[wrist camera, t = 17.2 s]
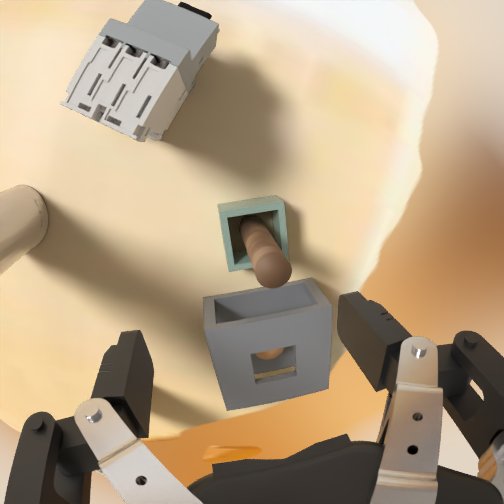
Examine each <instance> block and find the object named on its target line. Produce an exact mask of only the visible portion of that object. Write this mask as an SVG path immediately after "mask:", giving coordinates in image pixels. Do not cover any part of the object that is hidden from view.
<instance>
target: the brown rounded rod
mask: <svg viewBox="0 0 504 504" xmlns="http://www.w3.org/2000/svg"><path fill="white" fill-rule="evenodd" d="M239 231H240V233H241V236H242V239H243V242H244V244H245V247H246V250H247V253H248V255H249V258H250V261H251V264H252V266H253V269H254V272H255V274H256V277H257V280H258V282H259V283H260V284H261V285H262V286H264V287H266V288H270V289H274V288H279V287H281V286H283V285H284V284H285V283H287V281H288V280H289V279H290V276H291V273H292V268H291V265H290V263H289V261H288V260H287V258H286V257H285V255H284V254H283V252H282V251H281V249H280V248H279V246H278V245H277V243H276V241H275V240H274V238H273V237H272V235H271V234H270V232H269V231H268V229H267V228H266V226H265V225H264V223H263V222H262V220H261V219H260V218H259V217H258V216H255V215H248V216H245V217H244V218H243V219H242V220H241V221H240V224H239Z"/></svg>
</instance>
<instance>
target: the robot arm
mask: <svg viewBox="0 0 504 504" xmlns="http://www.w3.org/2000/svg"><path fill="white" fill-rule="evenodd" d="M47 227H48V213H47V208H46V205H45V203H44V201H43V199H42V197H41V196H40V195H39V193H38V192H37V191H36V190H34V189H33V188H31V187H29V186H25V185H19V186H16V187H13V188H10V189H8V190H5V191H2V192H0V275H1V274H2V273H3V272H5V271H6V270H7V269H8V268H9V267H10V266H12V265H13V264H14V263H15V262H16V261H17V260H19V259H20V258H21V257H22V256H23V255H25V254H26V253H27V252H29V251H30V250H31V249H32V248H33V247H35V246H36V245H37V244H38V243H39V242H41V241H42V239H43V238H44V236H45V234H46V231H47ZM337 330H338V335H339V337H340V339H341V341H342V343H343V344H344V345H345V347H346V348H347V350H348V351H349V353H350V354H351V356H352V357H353V359H354V360H355V362H356V363H357V364H358V366H359V367H360V369H361V370H362V372H363V373H364V374H365V376H366V378H367V379H368V381H369V382H370V383H371V385H372V387H373V388H374V390H375V391H376V392H377V391H380V390H383V389H385V388H386V389H387V390H388V391H389V393H388V396H387V401H386V405H385V410H384V414H383V419H382V423H381V427H380V432H379V435H378V438H377V441H376V442H370V441H350V439H349V437H348V435H347V434H344V435H341V436H338V437H335V438H331V439H328V440H325V441H322V442H318V443H315V444H314V445H311V446H310V447H308V448H306V449H304V450H302V451H300V452H298V453H296V454H294V455H292V456H290V457H288V458H285V459H274V460H263V459H262V460H261V459H259V460H258V459H244V460H238V461H232V462H225V463H217V464H212V467H213V473H211V474H208V475H206V476H204V477H202V478H200V479H198V480H197V481H195V482H193V483H192V484H191V485H189V486H188V487H187V488H186V487H184V486H183V485H182V484H181V483H180V482H179V481H178V480H177V479H176V478H175V477H174V476H173V475H172V474H171V473H170V472H169V471H168V470H167V469H166V468H165V467H164V466H163V465H162V464H161V463H160V461H159V460H158V459H157V458H156V457H155V456H154V455H153V454H152V453H151V452H150V451H149V450H148V448H147V447H146V446H145V445H144V444H143V443H142V442H141V440H140V439H139V438H148V437H149V422H150V409H151V398H152V387H153V377H154V368H153V362H152V359H151V356H150V354H149V351H148V348H147V346H146V343H145V340H144V338H143V335H142V333H141V331H140V330H134V331H125V332H121V334H120V337H119V341H118V344H117V345H112V346H111V347H110V348H109V349H108V350H107V351H106V353H105V354H104V356H103V360H102V363H101V364H102V365H101V366H100V369H99V373H98V375H97V379H96V382H95V385H94V389H93V392H92V396H91V399H89V400H87V401H85V402H83V403H82V404H81V405H80V406H79V407H78V408H77V409H76V412H75V416H72V417H68V418H65V419H61V420H57V421H56V420H55V419H54V418H53V417H52V415H51V414H49V413H47V412H37V413H35V414H33V415H31V416H30V417H29V418H28V419H27V420H26V422H25V423H24V426H23V429H22V432H21V436H20V439H19V443H18V446H17V449H16V453H15V457H14V460H13V465H12V468H11V473H10V477H9V481H8V486H7V491H6V496H5V502H4V504H90V488H91V474H92V471H95V470H99V469H101V470H102V471H103V473H104V474H105V476H106V477H107V479H108V480H109V482H110V483H111V484H112V486H113V487H114V489H115V490H116V491H117V492H118V494H119V495H120V496H121V498H122V499H123V501H124V502H125V503H126V504H504V358H503V356H501V355H500V353H499V352H497V351H496V350H495V349H494V348H493V347H492V346H491V345H490V344H489V343H488V342H487V341H486V340H485V339H484V338H483V337H482V336H481V335H479V334H478V333H476V332H472V331H461V332H459V333H457V334H456V336H455V338H454V341H453V344H447V345H438V346H436V345H435V343H434V342H432V341H431V340H429V339H427V338H424V337H420V336H415V337H413V336H412V335H411V334H410V333H409V332H407V330H406V329H405V328H404V327H403V326H402V325H401V324H400V323H399V322H398V321H397V320H396V319H394V318H393V316H392V315H391V314H389V313H388V311H387V310H386V309H385V308H384V307H383V306H382V305H380V304H378V303H376V302H374V301H372V300H369V301H367V300H366V299H365V298H364V297H363V296H362V295H361V294H360V293H359V292H358V291H356V292H352V293H347V294H343V295H340V297H339V303H338V321H337ZM472 379H473V381H474V382H475V383H476V384H477V385H478V386H479V388H480V389H481V390H482V391H483V395H484V401H483V400H482V399H481V397H480V396H479V395H478V394H477V392H476V391H475V390H474V389H473V388H472V386H471V385H470V382H471V380H472ZM443 407H444V408H445V409H446V411H447V412H448V414H449V415H450V417H451V418H452V419H453V421H454V422H455V424H456V425H457V426H458V428H459V429H460V431H461V432H462V434H463V435H464V437H465V438H466V440H467V441H468V443H469V444H470V446H471V447H472V449H473V450H474V452H475V453H476V455H477V456H478V458H479V463H478V469H479V472H478V475H477V477H476V476H472V475H468V474H465V473H462V472H458V471H455V470H452V469H448V468H445V467H443V466H440V465H438V458H439V449H440V440H441V426H442V409H443Z"/></svg>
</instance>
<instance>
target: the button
mask: <svg viewBox="0 0 504 504" xmlns="http://www.w3.org/2000/svg"><path fill="white" fill-rule="evenodd" d="M283 350H284V348H279V349H275V350H270V351H265V352H260V353H255V354H256V356H257V357H259V358H261V359H264V360H269V359H273V358H276V357H278V356H279V355H280V354H281V353H282V352H283Z"/></svg>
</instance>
